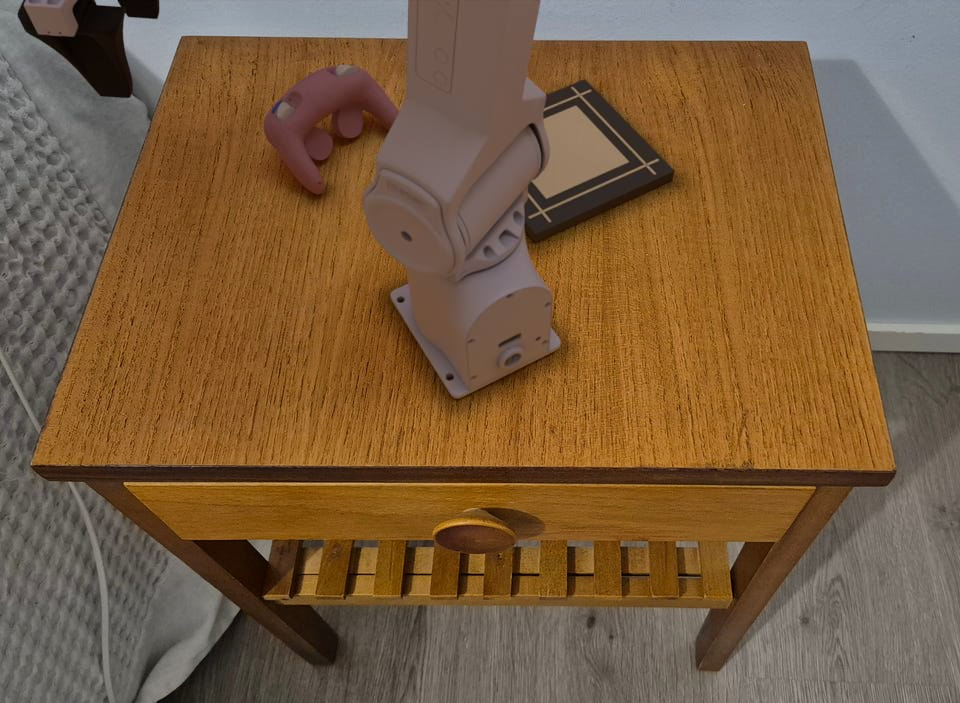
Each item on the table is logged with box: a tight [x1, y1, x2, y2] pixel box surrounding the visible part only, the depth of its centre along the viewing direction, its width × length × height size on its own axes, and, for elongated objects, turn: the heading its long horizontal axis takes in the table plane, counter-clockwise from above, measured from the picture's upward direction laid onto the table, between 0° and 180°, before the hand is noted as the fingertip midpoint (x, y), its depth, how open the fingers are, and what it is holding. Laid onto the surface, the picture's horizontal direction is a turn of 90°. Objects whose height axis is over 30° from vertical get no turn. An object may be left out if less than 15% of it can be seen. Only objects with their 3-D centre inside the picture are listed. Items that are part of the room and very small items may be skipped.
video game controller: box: [263, 64, 400, 195], centre depth 61 cm, size 10×5×7 cm, turn 137°
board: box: [524, 78, 675, 244], centre depth 61 cm, size 12×12×1 cm
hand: (130, 53), depth 55 cm, fingers open, 7 cm apart
